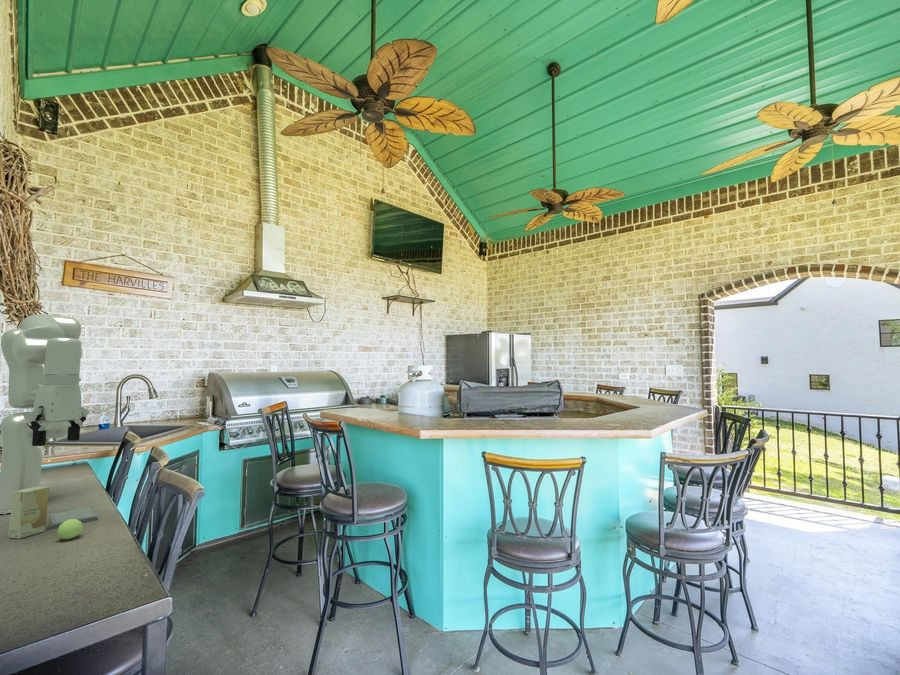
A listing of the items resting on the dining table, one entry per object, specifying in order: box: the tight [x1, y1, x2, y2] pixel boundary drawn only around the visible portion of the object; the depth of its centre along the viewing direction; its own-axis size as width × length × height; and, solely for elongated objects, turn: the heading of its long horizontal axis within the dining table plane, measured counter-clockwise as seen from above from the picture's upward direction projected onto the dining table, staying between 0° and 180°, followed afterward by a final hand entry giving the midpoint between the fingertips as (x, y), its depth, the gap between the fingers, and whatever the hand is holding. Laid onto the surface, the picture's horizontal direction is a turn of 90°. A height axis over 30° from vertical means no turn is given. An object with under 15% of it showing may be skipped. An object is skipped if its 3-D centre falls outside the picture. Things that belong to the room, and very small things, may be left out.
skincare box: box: [7, 485, 50, 539], centre depth 115 cm, size 6×4×12 cm
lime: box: [56, 519, 84, 541], centre depth 111 cm, size 5×5×5 cm
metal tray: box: [49, 506, 99, 529], centre depth 128 cm, size 14×10×1 cm
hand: (56, 442), depth 117 cm, fingers open, 9 cm apart
